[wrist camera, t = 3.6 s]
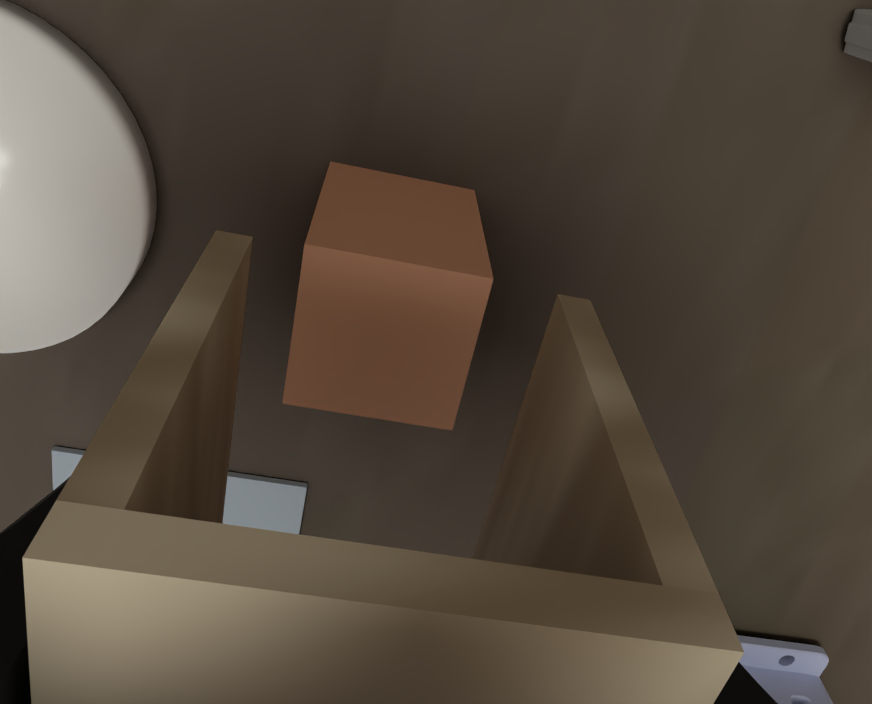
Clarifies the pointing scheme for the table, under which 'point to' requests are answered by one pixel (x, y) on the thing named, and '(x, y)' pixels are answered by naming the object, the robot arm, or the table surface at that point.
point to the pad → (229, 496)
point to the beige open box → (368, 553)
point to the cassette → (860, 35)
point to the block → (388, 298)
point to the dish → (64, 187)
